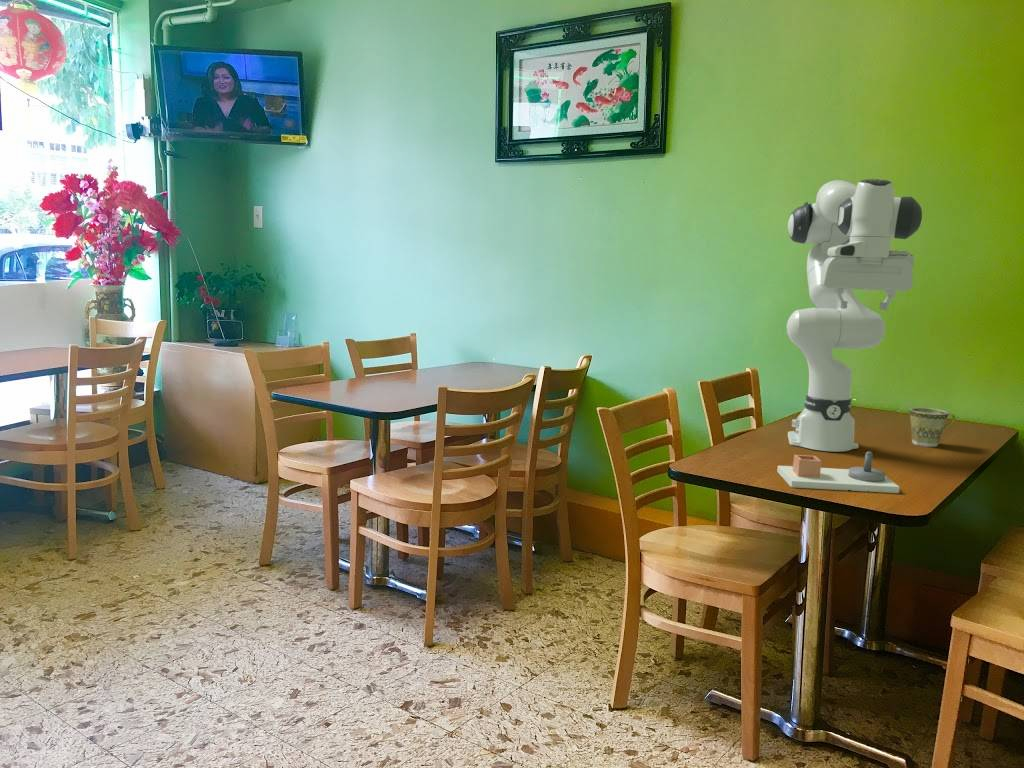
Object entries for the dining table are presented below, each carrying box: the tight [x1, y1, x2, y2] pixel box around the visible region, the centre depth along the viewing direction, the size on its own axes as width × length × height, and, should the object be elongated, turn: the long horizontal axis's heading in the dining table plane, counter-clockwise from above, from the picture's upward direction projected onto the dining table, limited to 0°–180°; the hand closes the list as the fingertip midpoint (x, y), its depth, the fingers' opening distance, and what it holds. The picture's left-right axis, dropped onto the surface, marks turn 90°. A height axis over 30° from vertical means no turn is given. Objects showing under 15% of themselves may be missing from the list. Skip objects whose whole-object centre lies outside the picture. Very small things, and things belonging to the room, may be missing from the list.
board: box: [776, 451, 901, 494], centre depth 193 cm, size 14×24×8 cm, turn 85°
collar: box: [792, 454, 822, 478], centre depth 193 cm, size 5×5×4 cm
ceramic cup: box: [909, 407, 956, 448], centre depth 236 cm, size 13×10×10 cm
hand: (863, 309), depth 191 cm, fingers open, 8 cm apart
